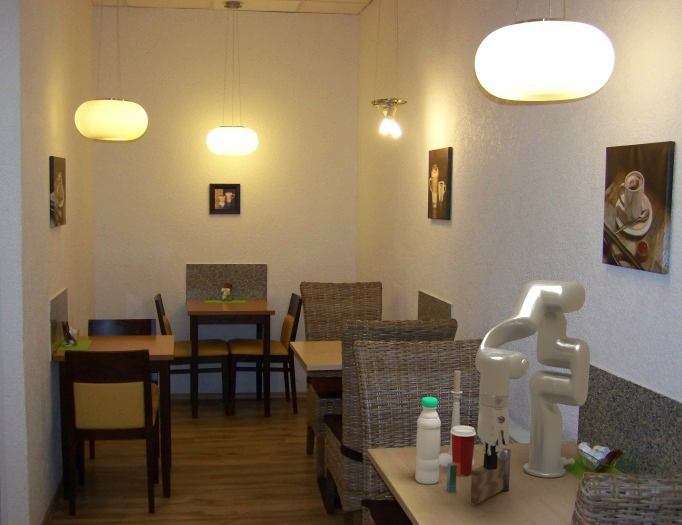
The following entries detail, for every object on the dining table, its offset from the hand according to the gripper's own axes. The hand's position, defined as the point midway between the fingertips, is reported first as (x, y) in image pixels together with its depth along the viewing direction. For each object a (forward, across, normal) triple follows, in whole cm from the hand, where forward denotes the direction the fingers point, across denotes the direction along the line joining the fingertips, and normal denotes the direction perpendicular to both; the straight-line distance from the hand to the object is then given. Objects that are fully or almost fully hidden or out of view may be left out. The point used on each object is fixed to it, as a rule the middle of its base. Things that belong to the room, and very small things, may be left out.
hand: (490, 468), depth 217 cm
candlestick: (+12, +42, -9) cm, 44 cm away
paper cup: (+12, +32, -7) cm, 35 cm away
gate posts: (+12, +17, -5) cm, 21 cm away
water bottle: (+12, +28, +6) cm, 31 cm away
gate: (+11, +10, -5) cm, 16 cm away
